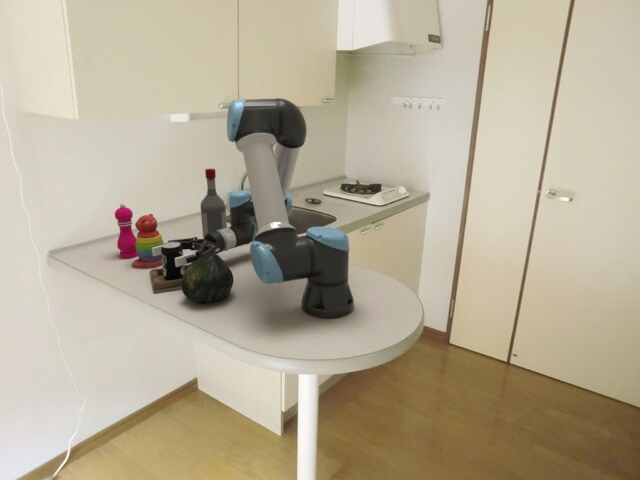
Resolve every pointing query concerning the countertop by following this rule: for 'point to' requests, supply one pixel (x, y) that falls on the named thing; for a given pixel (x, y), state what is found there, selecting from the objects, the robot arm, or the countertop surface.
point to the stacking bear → (147, 243)
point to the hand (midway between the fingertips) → (163, 257)
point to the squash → (207, 279)
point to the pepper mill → (125, 233)
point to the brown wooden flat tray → (164, 281)
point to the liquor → (212, 207)
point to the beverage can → (172, 260)
